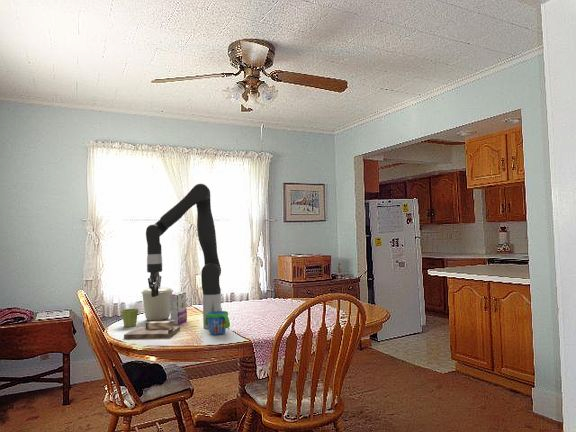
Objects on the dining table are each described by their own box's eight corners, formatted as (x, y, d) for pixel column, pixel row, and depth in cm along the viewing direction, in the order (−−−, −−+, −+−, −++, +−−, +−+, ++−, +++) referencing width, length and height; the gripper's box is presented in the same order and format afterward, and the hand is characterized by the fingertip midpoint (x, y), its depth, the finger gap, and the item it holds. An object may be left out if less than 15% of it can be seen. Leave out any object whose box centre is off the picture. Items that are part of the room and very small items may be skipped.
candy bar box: (179, 320, 245) (178, 291, 245) (187, 321, 244) (186, 291, 244) (169, 324, 234) (169, 294, 234) (178, 324, 233) (177, 294, 233)
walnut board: (180, 330, 217) (179, 323, 217) (170, 337, 201) (169, 330, 202) (137, 331, 218) (137, 324, 218) (123, 338, 202) (123, 331, 202)
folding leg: (175, 327, 216) (175, 320, 216) (174, 328, 213) (174, 321, 213) (147, 327, 217) (147, 320, 217) (145, 329, 214) (145, 321, 214)
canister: (148, 316, 261) (147, 282, 262) (177, 316, 260) (177, 281, 261) (136, 322, 243) (136, 285, 244) (168, 322, 242) (167, 284, 243)
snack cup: (199, 333, 209) (198, 312, 210) (217, 329, 217) (217, 309, 217) (217, 338, 198) (217, 315, 199) (236, 334, 205) (235, 312, 206)
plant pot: (120, 325, 236) (120, 309, 237) (138, 323, 240) (138, 308, 240) (120, 328, 228) (120, 311, 228) (139, 326, 231) (139, 310, 231)
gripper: (157, 263, 216) (157, 298, 215) (166, 262, 230) (166, 294, 229) (142, 263, 217) (142, 298, 216) (152, 262, 231) (152, 294, 230)
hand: (155, 296), depth 223 cm, fingers open, 3 cm apart
